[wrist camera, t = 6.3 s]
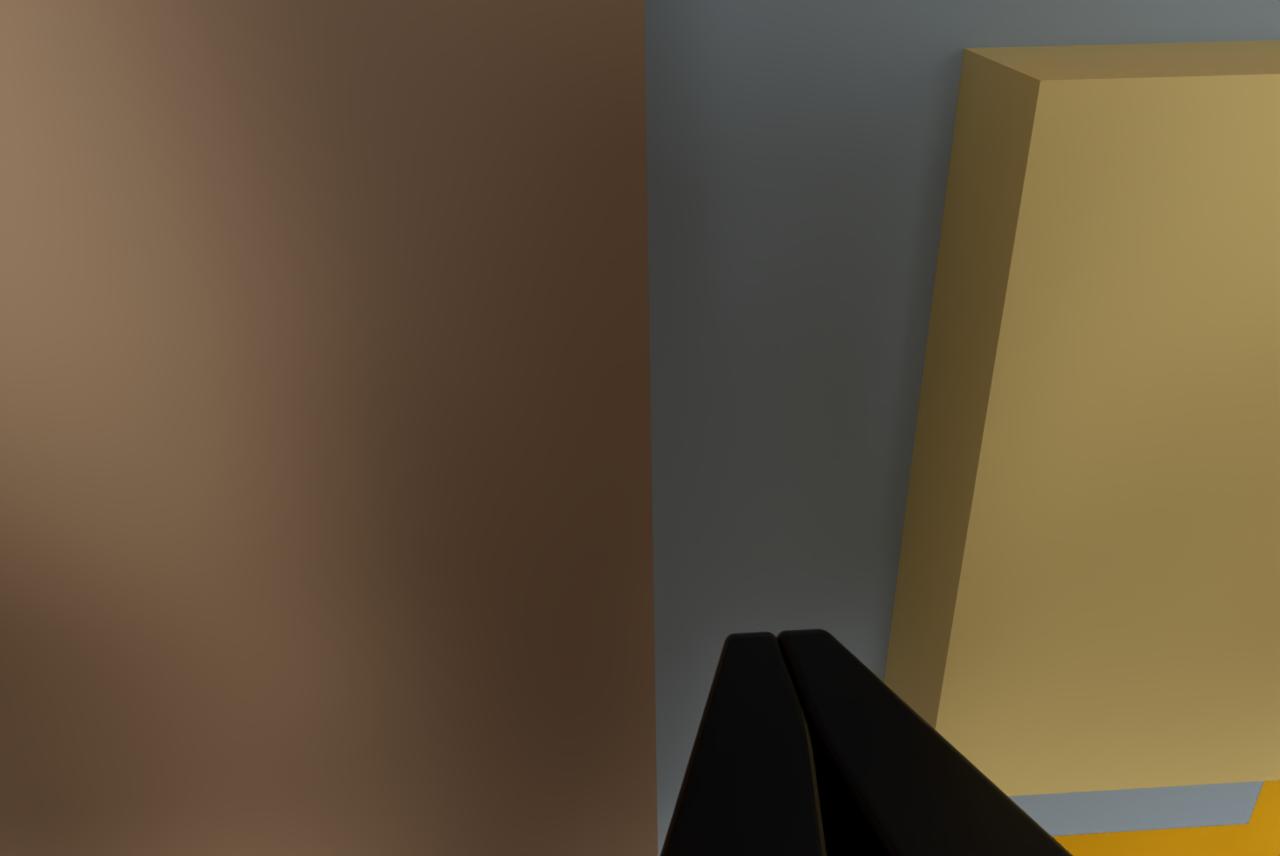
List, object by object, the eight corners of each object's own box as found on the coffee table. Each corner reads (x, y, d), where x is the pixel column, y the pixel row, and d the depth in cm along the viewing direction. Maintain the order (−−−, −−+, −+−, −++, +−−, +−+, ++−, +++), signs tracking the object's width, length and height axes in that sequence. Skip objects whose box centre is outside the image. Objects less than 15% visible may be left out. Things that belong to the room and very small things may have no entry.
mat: (1664, -390, 10) (1705, -399, 9) (1234, 804, 17) (1247, 823, 17) (611, -378, 9) (612, -388, 9) (643, 841, 17) (644, 861, 16)
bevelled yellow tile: (1041, 79, 9) (963, 48, 11) (923, 800, 13) (882, 693, 15) (1687, 62, 9) (1508, 33, 11) (1369, 774, 14) (1278, 672, 15)
